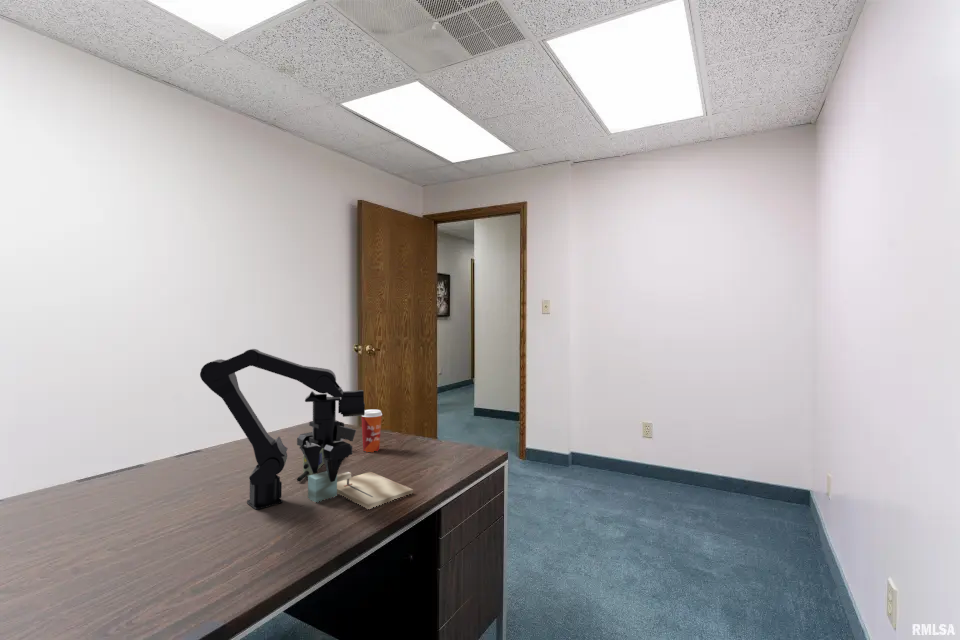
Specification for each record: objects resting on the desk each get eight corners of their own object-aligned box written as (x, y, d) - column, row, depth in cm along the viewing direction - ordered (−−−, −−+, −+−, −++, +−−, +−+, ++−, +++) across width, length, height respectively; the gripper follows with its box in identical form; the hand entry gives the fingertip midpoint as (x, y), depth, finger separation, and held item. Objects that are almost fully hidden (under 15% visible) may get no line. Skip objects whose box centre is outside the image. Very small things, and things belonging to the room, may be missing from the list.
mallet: (315, 503, 114) (315, 479, 114) (307, 498, 117) (308, 475, 117) (353, 491, 122) (353, 469, 122) (345, 487, 125) (346, 465, 125)
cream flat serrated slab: (368, 509, 111) (368, 504, 111) (327, 488, 124) (327, 483, 124) (412, 493, 121) (412, 489, 121) (370, 475, 134) (370, 471, 134)
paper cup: (369, 454, 155) (370, 414, 155) (355, 450, 160) (356, 411, 159) (387, 449, 161) (387, 410, 161) (373, 445, 166) (373, 408, 166)
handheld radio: (334, 457, 153) (305, 484, 128) (324, 457, 153) (293, 484, 128) (333, 437, 153) (304, 460, 128) (323, 437, 153) (292, 460, 128)
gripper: (370, 418, 117) (370, 478, 117) (333, 408, 130) (333, 462, 130) (331, 425, 109) (330, 489, 109) (296, 414, 122) (295, 471, 122)
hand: (323, 477), depth 118 cm, fingers open, 9 cm apart
